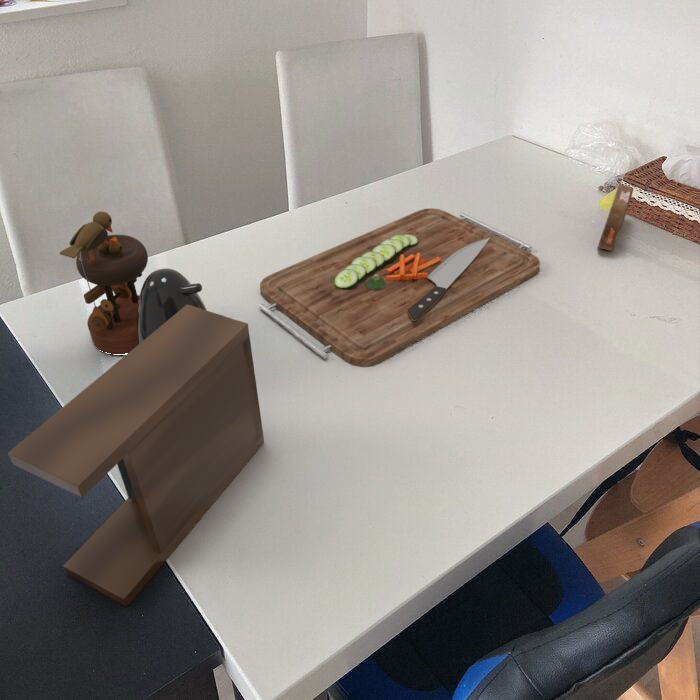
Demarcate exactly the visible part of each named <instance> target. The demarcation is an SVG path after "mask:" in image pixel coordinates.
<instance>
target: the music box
mask: <svg viewBox="0 0 700 700" xmlns="http://www.w3.org/2000/svg"><path fill="white" fill-rule="evenodd" d="M112 224H113V220H112V216H111V215H110V214H109V213H108V212H107V211H97V212H96V213H95V214H93V217H92V221H89V222H87V223H85V224H83V225H82V226H81V227H80V228H79V229H78V230H77V231H76V232H75V234H74V235H73V236H72V238H71V239H70V241H69V245H70V246H67V247H66V248H65V249H63V250H60V252H59V255H61V256H64V257H69V258H71V259H75V258H76V260H75V265H76V269H77V271H78V273H79V275H80V276H81V277H82V278H83V279H84V280H85V281H86V283H87V286H88V288H89V290H88V291H87V292H86V293H84V294H83V298H84V301H85V304H87V305H90V304H93V306H94V307H93V308H92V309H93V310H92V312H90V314H89V316H88V317H87V328H88V331H89V335H90V338H91V340H92V344H93V343H94V344H93V346H94V345H95V346H96V347H97V348H98V349H99V350H101V351H103V352H107V353H111V354H125V353H129V352H130V351H131V350H133V349H134V348H135V347H136V346H137V345H138V341H137V328H136V318H137V307H138V301H139V296H140V294H138V292H137V289H136V285H135V284H136V282H137V281H138V278H141V277H142V276H143V273H144V271H145V270H146V267H147V266H148V260H149V255H148V252H147V248H146V247H145V245H144V244H143V243H142V242H141V241H140V240H138V239H137V238H136V237H133V236H131V235H126V234H109V232H110V233H113V229H112ZM90 284H93V285H95V286H94V287H93V288H91V286H90ZM104 295H105V298H104V299H103V298H102V299H101V300H100V303H99V305H98V306H97V305H96V303H95V301H96V300H98V299H100V298H101V297H102V296H104ZM95 346H94V347H95ZM96 347H95V348H96ZM97 348H96V349H97ZM98 349H97V350H98ZM99 350H98V351H99ZM101 351H100V352H101ZM103 352H102V353H103Z"/></svg>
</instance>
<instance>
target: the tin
mask: <svg viewBox="0 0 700 700" xmlns="http://www.w3.org/2000/svg"><path fill="white" fill-rule="evenodd" d="M633 192H634V187H633V186H630V185H625V184H621V182H620V183H618V186H617V188H616V191H615V194H614V198H613V199H612V203H611V206H610V209H609V213H608V215H607V218H606V222H605V224H604V227H603V230H602V234H601V236H600V239H599V242H598V245H597V249H602V250H605V251H614V250H615V247H616V243H617V240H618V237H619V234H620V230H621V228H622V226H623V224H624V222H625V219H626V216H627V213H628V209H629V207H630V204H631V200H632V196H633Z"/></svg>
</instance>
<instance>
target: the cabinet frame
mask: <svg viewBox="0 0 700 700" xmlns="http://www.w3.org/2000/svg"><path fill="white" fill-rule="evenodd" d="M252 351H253V350H252V344H251V337H250V328H249V323H247V322H244V321H241V320H238V319H235V318H231V317H228V316H226V315H221V314H219V313H216V312H213V311H210V310H207V311H206V310H203V309H200V308H197V307H194V306H191V305H186V306H185V307H183V308H182V309H181V310H180V311H179V312H177V313H176V314H175V315H174V316H172V317H171V318H170V319H169V320H168V321H166V322H165V323H164V324H163V325H162V326H160V327H159V328H158V329H157V330H156V331H154V332H153V333H152V334H151V335H150V336H148V337H147V338H146V339H145V340H144V341H142V342H141V343H140V344H139V345H137V346H136V347H135V348H134V349H133V350H131V351H130V352H129V353H128V354H127V355H125V356H122V358H121V359H119V360H118V361H117V362H116V363H114V364H113V365H112V366H111V367H110V368H108V369H107V370H106V371H104V373H102V374H101V375H100V376H99V377H98V378H96V379H95V380H94V381H93V382H92V383H90V384H89V385H88V386H86V388H84V389H83V390H82V391H81V392H79V393H78V394H77V395H75V396H74V397H73V398H72V399H71V400H69V402H67V403H66V404H65V405H63V407H61V408H60V409H59V410H58V411H56V412H55V413H54V414H53V415H52V416H51V417H49V418H48V419H47V420H46V421H45V422H43V423H42V424H40V426H39V427H37V428H36V429H34V431H32V432H31V433H30V434H29V435H28V436H26V437H25V438H24V439H23V440H21V441H20V442H19V443H18V444H16V445H15V446H14V447H13V448H12V449H11V450H10V451H8V452H7V455H8V457H9V459H10V461H11V463H12V465H13V466H15V467H16V468H19V469H21V470H24V471H26V472H28V473H29V474H32V475H34V476H36V477H38V478H39V479H42V480H44V481H46V482H48V483H50V484H52V485H54V486H56V487H59V488H61V489H63V490H64V491H67V492H68V493H72V494H73V495H75V496H78V497H80V498H84V497H85V496H86V495H87V494H88V493H89V492H90V491H91V490H92V489H93V488H94V487H95V486H96V485H98V483H99V482H100V481H101V480H102V479H103V478H104V477H105V476H106V475H107V474H108V473H109V472H110V471H112V470H113V468H114V467H115V466H117V463H118V462H119V461H120V460H121V459H122V458H123V460H124V463H125V466H126V469H127V472H128V475H129V478H130V481H131V484H132V487H133V490H134V493H135V496H136V499H137V501H135V500H132V499H130V498H129V497H127V499H125V500H124V502H123V503H122V504H121V505H120V506H119V507H118V508H117V509H116V510H115V511H114V512H113V513H112V514H111V515H110V516H109V517H108V518H107V519H106V520H105V522H103V524H102V525H100V526H99V528H97V530H96V531H95V532H94V533H93V534H92V535H91V536H89V538H88V539H87V540H86V541H85V542H84V544H82V545H81V547H79V549H78V550H76V552H75V553H74V554H73V555H72V556H71V557H70V558H69V559H68V560H67V561H66V562H64V564H63V565H62V567H63V569H64V571H65V573H66V575H67V576H69V577H71V578H73V579H74V580H77V581H79V582H81V583H82V584H84V585H86V586H88V587H90V588H91V589H93V590H95V591H97V592H99V593H101V594H102V595H104V596H106V597H107V598H110V599H112V600H113V601H115V602H117V603H119V604H121V605H122V606H125V607H126V608H127V607H129V606H130V604H132V602H133V601H134V600H135V598H136V597H137V596H138V595H139V594H140V592H142V590H143V589H144V587H145V586H146V585H147V584H148V583H149V582H150V580H152V578H153V577H154V575H156V573H157V572H158V571H159V569H161V567H162V566H163V565H164V564H165V562H166V561H167V560H168V559H169V557H171V555H172V554H173V553H174V551H176V549H177V548H178V547H179V545H180V544H181V543H182V542H183V541H184V539H185V538H186V537H187V536H188V535H189V534H190V532H191V531H192V529H193V528H195V526H196V525H197V524H198V523H199V521H200V520H201V519H202V518H203V516H205V514H206V513H207V512H208V511H209V510H210V508H211V507H212V506H213V505H214V503H216V502H217V500H218V499H219V498H220V496H221V495H222V494H223V492H224V491H225V490H226V489H227V488H228V486H229V485H230V484H231V483H232V482H233V480H234V479H235V478H236V477H237V476H238V474H240V472H241V471H242V470H243V469H244V468H245V466H246V465H247V464H248V463H249V461H251V459H252V458H253V457H254V455H255V454H256V453H257V452H258V451H259V450H260V448H261V447H262V446H263V445H264V443H265V439H264V431H263V423H262V416H261V409H260V401H259V394H258V387H257V380H256V374H255V373H256V372H255V371H256V370H255V366H254V364H255V363H254V359H253V352H252ZM182 540H183V541H182ZM177 546H178V547H177ZM175 548H176V549H175Z"/></svg>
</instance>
